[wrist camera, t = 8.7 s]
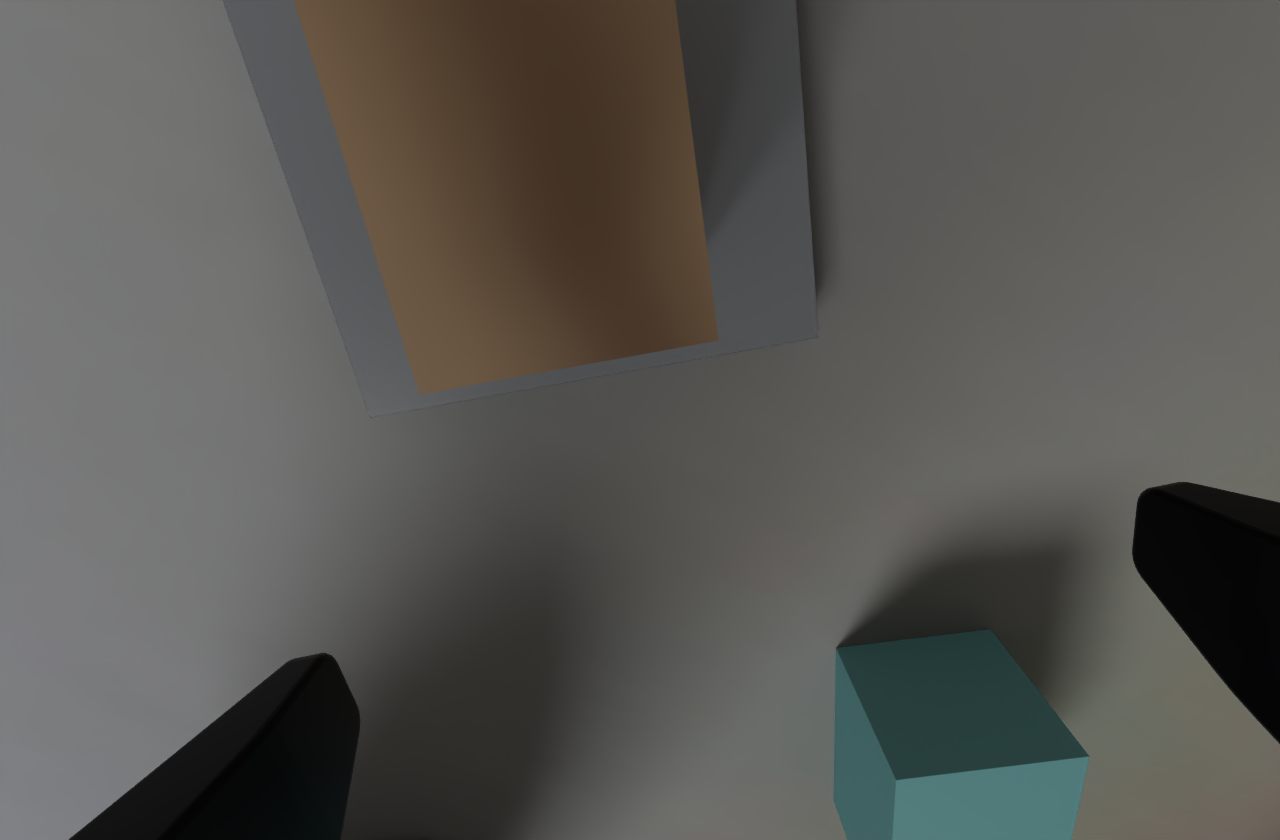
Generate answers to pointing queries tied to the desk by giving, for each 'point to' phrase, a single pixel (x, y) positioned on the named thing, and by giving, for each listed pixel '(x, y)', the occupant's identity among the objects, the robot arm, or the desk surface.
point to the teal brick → (949, 744)
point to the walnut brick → (520, 177)
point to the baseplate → (726, 167)
